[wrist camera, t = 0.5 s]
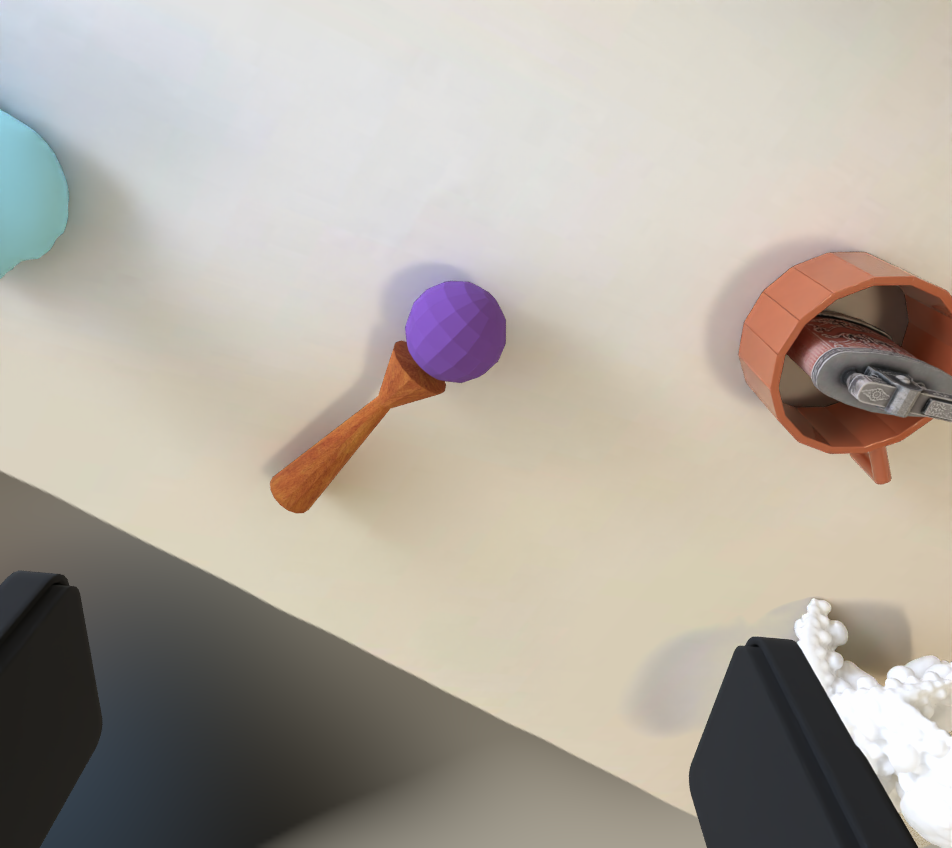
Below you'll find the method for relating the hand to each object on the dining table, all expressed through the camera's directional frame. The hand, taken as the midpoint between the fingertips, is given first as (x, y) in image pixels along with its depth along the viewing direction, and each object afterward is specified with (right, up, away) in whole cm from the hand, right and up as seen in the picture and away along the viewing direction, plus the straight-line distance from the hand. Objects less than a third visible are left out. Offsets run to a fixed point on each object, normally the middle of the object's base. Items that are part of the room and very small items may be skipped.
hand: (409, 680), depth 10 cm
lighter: (+24, +9, +35) cm, 43 cm away
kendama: (-5, +6, +36) cm, 37 cm away
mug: (+24, +8, +35) cm, 44 cm away
